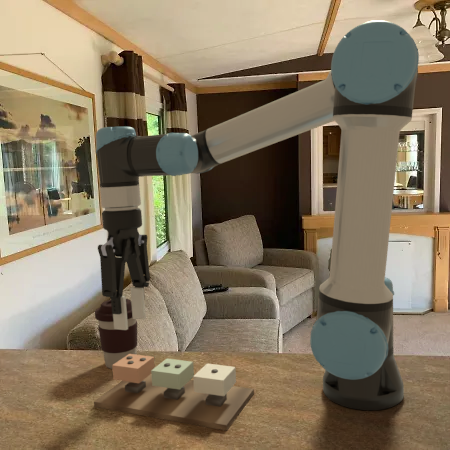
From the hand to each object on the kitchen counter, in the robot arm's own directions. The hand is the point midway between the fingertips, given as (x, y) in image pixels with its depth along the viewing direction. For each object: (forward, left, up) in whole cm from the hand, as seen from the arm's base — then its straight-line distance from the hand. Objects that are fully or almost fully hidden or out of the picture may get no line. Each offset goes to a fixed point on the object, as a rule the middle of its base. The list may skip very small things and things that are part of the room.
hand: (130, 323), depth 96 cm
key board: (-9, 0, -15) cm, 17 cm away
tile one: (-18, 0, -11) cm, 21 cm away
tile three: (0, 0, -11) cm, 11 cm away
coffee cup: (+12, -12, -15) cm, 23 cm away
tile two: (-9, 0, -11) cm, 14 cm away
